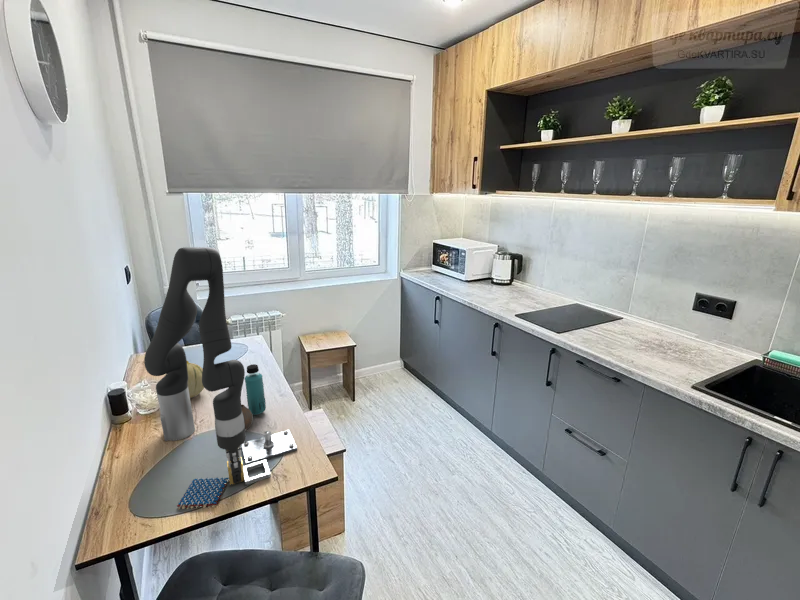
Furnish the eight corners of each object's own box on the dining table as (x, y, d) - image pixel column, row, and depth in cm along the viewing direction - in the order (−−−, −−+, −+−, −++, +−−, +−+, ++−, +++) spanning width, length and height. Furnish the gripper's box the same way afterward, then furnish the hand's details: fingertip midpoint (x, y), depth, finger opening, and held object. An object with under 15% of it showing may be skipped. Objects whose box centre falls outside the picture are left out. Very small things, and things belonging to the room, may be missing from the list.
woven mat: (193, 482, 113) (192, 477, 112) (230, 481, 114) (229, 475, 113) (175, 511, 103) (174, 505, 102) (216, 509, 104) (215, 503, 103)
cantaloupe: (165, 409, 149) (159, 374, 144) (170, 391, 161) (164, 359, 157) (208, 401, 154) (203, 367, 150) (209, 384, 167) (204, 353, 163)
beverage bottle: (260, 419, 143) (255, 370, 137) (244, 417, 144) (239, 369, 139) (269, 409, 149) (265, 363, 144) (254, 407, 150) (249, 361, 145)
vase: (234, 435, 134) (231, 413, 131) (232, 424, 140) (229, 403, 137) (254, 430, 137) (252, 408, 134) (252, 420, 143) (249, 399, 140)
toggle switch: (245, 465, 119) (243, 449, 117) (241, 445, 128) (239, 430, 127) (297, 450, 127) (296, 434, 125) (289, 432, 136) (288, 417, 134)
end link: (230, 489, 109) (228, 472, 107) (228, 474, 115) (226, 457, 113) (270, 476, 114) (269, 460, 113) (266, 462, 120) (264, 446, 118)
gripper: (213, 418, 112) (220, 467, 117) (217, 445, 100) (225, 499, 105) (241, 411, 116) (246, 459, 121) (247, 437, 104) (253, 489, 109)
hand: (236, 477), depth 113 cm, fingers closed on end link, 3 cm apart
